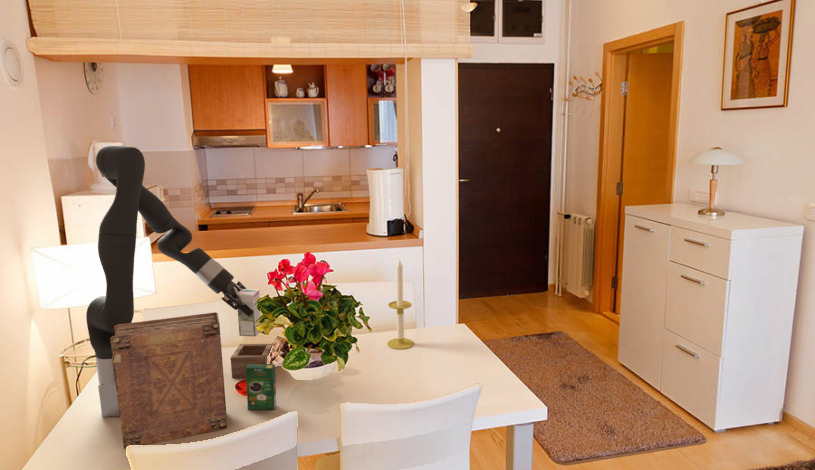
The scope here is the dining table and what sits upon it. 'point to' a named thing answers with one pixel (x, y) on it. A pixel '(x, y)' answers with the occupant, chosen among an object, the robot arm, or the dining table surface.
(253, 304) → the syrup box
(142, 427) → the book
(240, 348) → the walnut socket
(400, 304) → the candle
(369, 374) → the dining table surface
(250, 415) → the dining table surface
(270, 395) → the coffee box
